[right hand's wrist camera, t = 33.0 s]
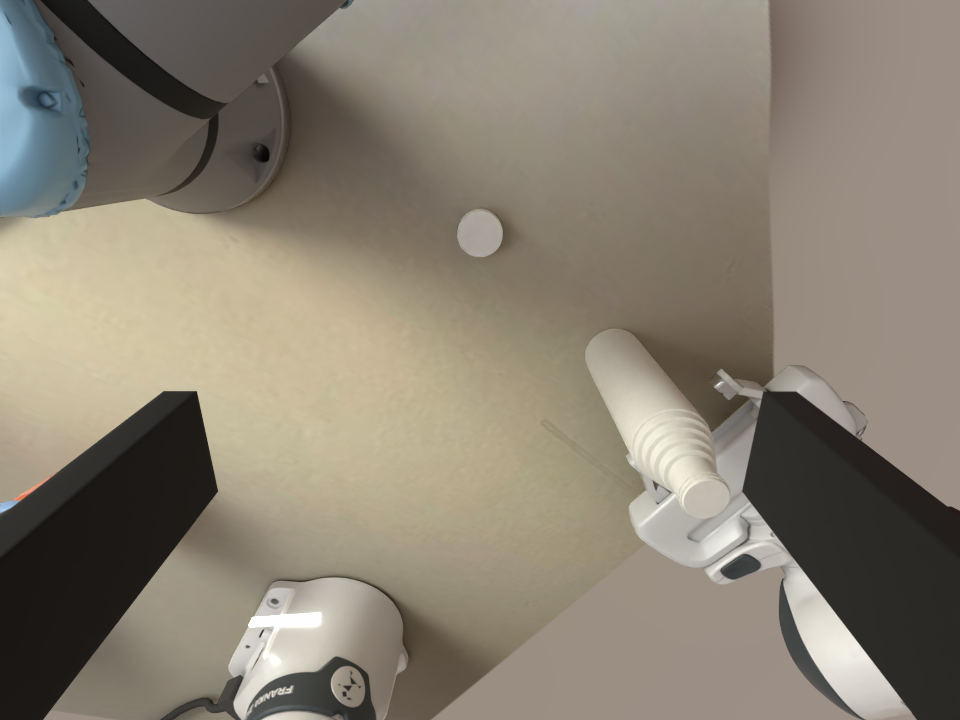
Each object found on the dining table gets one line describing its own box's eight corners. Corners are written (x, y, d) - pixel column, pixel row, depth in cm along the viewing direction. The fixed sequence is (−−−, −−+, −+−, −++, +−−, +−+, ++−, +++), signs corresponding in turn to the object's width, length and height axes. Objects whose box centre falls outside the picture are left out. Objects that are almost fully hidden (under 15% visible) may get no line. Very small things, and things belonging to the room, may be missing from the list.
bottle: (629, 318, 49) (740, 444, 28) (648, 366, 50) (766, 517, 30) (576, 342, 49) (645, 481, 29) (596, 388, 51) (676, 550, 30)
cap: (449, 239, 46) (448, 243, 44) (471, 200, 45) (471, 201, 43) (488, 261, 47) (488, 265, 45) (510, 222, 45) (511, 225, 44)
